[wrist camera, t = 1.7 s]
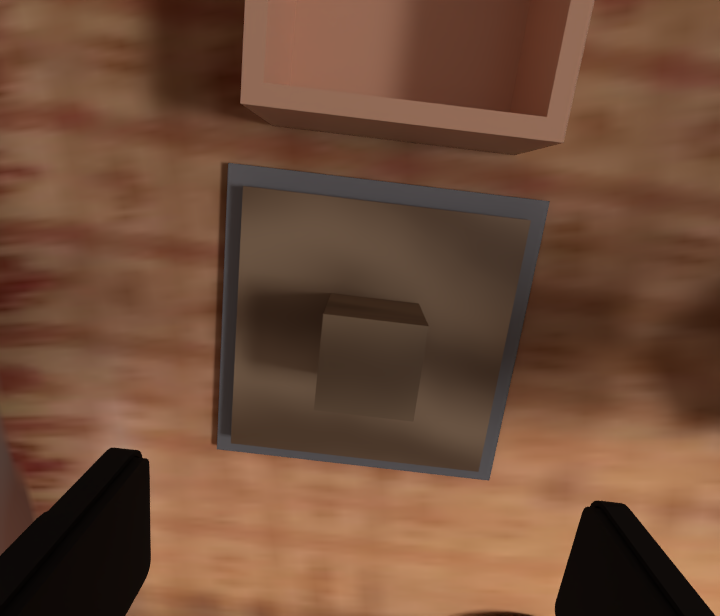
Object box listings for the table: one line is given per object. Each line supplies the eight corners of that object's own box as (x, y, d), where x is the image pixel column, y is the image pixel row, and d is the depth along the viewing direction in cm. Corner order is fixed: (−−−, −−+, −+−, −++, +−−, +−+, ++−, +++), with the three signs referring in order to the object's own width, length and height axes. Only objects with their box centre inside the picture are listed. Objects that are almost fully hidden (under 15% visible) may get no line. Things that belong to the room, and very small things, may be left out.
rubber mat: (487, 476, 27) (489, 480, 26) (219, 445, 27) (217, 449, 26) (546, 201, 23) (549, 201, 22) (230, 163, 23) (228, 162, 22)
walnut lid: (475, 463, 26) (497, 522, 21) (234, 435, 26) (205, 489, 21) (525, 219, 23) (565, 226, 18) (247, 186, 22) (215, 184, 18)
